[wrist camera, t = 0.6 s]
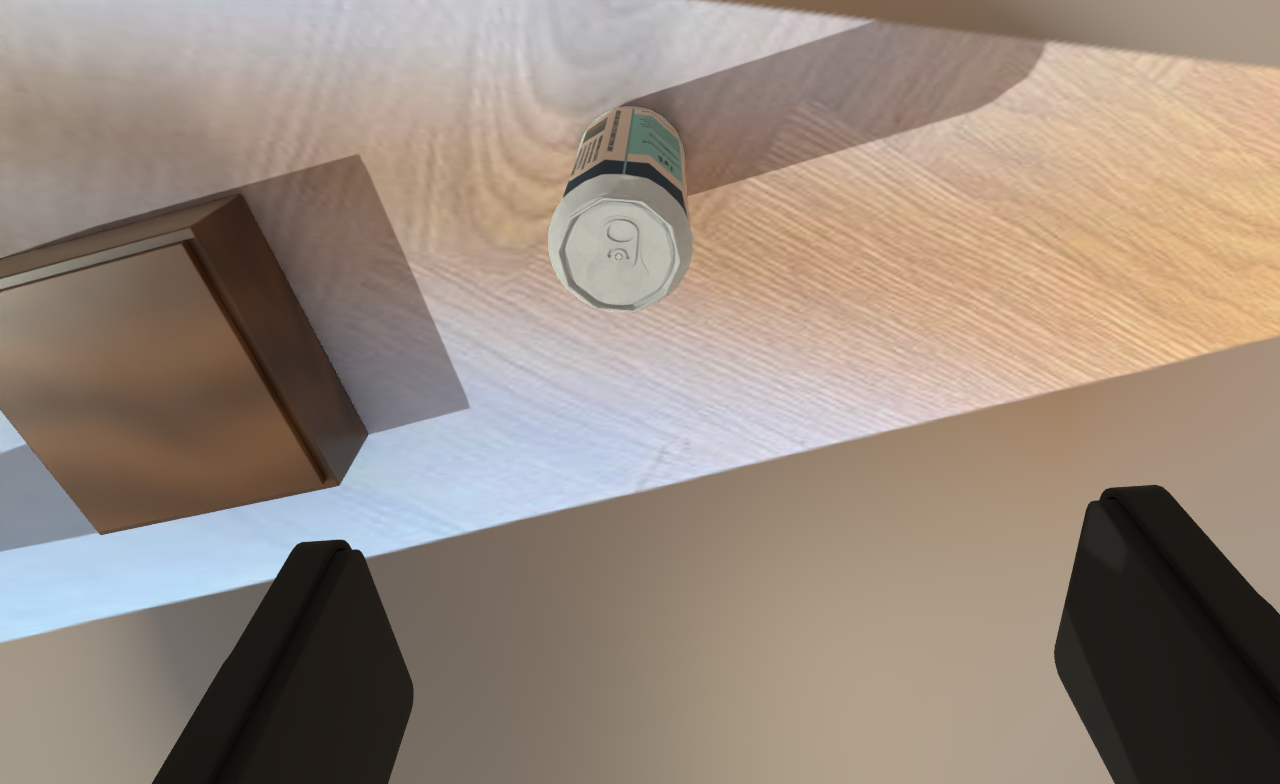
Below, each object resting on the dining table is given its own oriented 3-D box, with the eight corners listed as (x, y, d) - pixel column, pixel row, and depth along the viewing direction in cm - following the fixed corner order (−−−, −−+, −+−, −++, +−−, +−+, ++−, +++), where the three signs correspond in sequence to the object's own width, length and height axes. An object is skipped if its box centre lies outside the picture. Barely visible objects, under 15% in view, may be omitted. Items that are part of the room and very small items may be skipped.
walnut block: (-12, 262, 39) (-96, 305, 34) (241, 192, 37) (185, 229, 32) (148, 482, 46) (95, 541, 41) (369, 435, 44) (336, 491, 39)
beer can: (576, 206, 37) (542, 318, 26) (580, 99, 34) (544, 176, 24) (679, 214, 37) (685, 330, 26) (690, 108, 34) (702, 189, 24)
